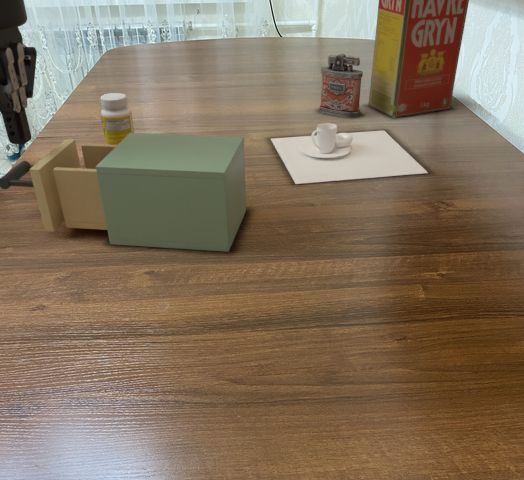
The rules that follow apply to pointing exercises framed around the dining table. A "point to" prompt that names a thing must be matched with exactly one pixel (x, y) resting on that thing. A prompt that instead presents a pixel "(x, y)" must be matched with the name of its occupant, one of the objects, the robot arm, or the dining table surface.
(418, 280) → the dining table surface
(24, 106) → the robot arm
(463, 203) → the dining table surface
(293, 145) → the teacup and saucer
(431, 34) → the food packaging
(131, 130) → the supplement bottle
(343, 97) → the lighter
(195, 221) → the cabinet
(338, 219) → the dining table surface
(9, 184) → the drawer
